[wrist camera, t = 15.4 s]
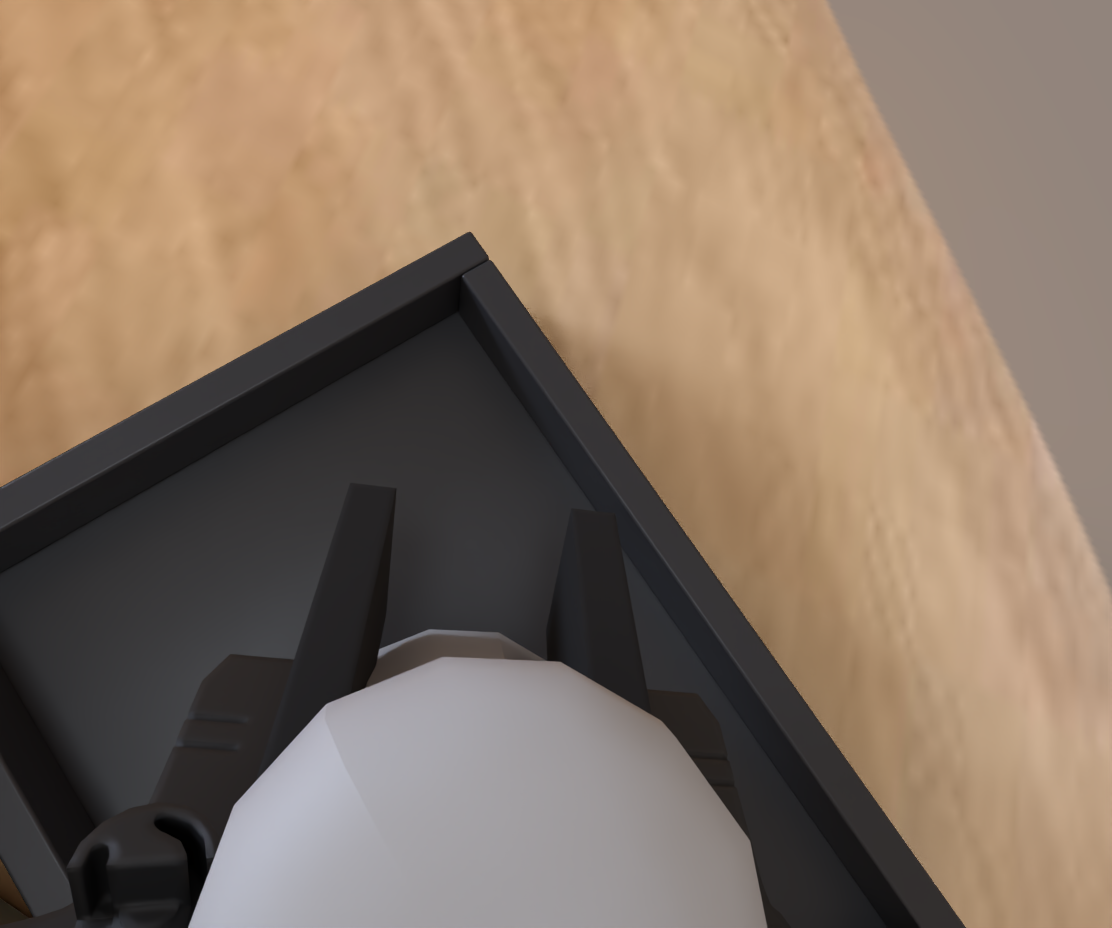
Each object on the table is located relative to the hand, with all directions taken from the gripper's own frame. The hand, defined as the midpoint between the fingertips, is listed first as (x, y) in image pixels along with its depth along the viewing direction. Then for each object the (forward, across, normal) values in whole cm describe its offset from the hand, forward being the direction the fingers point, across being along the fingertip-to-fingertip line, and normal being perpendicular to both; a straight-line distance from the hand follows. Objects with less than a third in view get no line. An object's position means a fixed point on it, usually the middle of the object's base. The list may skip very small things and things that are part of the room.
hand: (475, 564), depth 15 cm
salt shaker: (0, 0, -6) cm, 6 cm away
